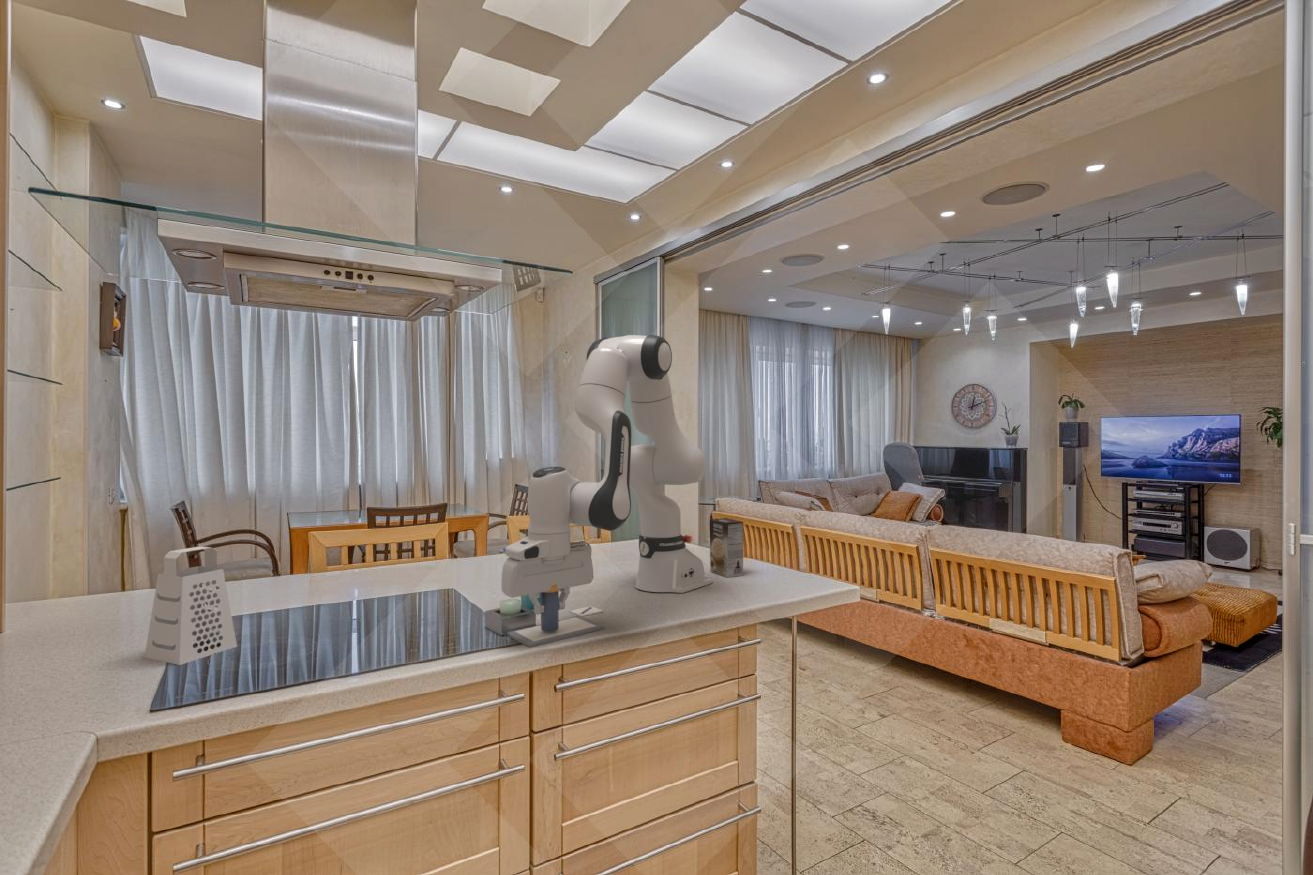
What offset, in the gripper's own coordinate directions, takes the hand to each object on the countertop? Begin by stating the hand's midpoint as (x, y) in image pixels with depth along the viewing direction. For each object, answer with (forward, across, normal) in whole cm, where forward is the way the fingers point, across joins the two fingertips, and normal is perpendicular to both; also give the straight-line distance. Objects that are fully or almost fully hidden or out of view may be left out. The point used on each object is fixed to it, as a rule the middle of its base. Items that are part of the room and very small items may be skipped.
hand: (549, 611), depth 129 cm
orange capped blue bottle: (+4, 0, 0) cm, 4 cm away
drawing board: (+5, -2, -1) cm, 5 cm away
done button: (+3, +4, -10) cm, 11 cm away
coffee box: (+5, -69, -15) cm, 71 cm away
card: (+5, -15, -9) cm, 18 cm away
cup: (+5, -7, -22) cm, 24 cm away
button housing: (+5, +4, -10) cm, 12 cm away
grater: (+5, +58, -37) cm, 69 cm away
